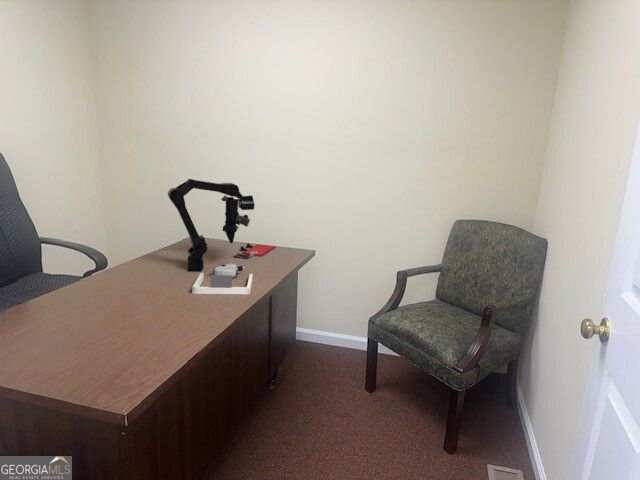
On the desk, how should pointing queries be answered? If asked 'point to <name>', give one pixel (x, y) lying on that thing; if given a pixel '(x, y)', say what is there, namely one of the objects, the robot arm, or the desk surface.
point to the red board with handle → (255, 250)
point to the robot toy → (228, 270)
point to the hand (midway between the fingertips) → (231, 242)
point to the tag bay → (220, 285)
